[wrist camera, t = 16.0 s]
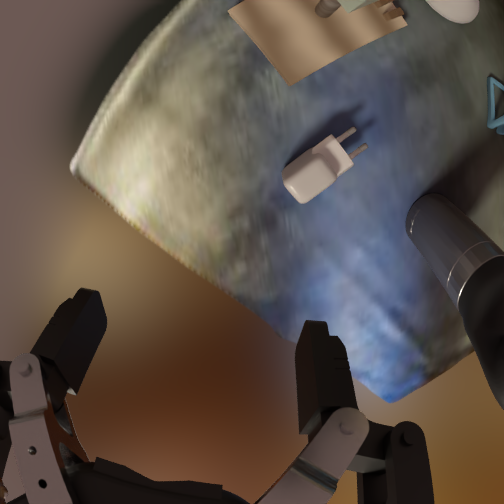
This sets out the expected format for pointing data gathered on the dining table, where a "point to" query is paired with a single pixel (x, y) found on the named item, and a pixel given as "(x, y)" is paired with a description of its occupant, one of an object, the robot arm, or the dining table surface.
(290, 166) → the power adapter
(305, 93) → the dining table surface
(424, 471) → the robot arm
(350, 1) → the square hollow tube
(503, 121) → the chair
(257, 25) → the post
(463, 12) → the flower in vase
